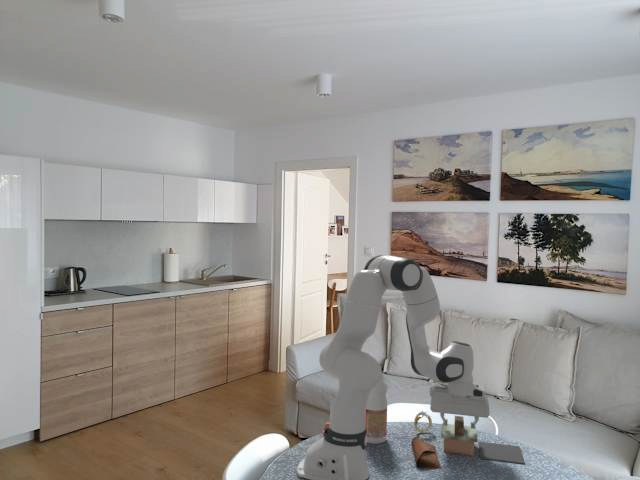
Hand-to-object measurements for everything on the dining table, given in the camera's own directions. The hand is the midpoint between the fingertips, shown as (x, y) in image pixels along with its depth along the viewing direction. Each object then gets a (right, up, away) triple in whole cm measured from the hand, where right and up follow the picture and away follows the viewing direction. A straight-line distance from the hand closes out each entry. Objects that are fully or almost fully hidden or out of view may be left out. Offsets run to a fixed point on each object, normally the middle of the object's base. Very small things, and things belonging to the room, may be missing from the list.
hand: (459, 426), depth 176 cm
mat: (+13, -8, -4) cm, 16 cm away
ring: (-10, -7, +13) cm, 18 cm away
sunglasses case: (-13, -8, -8) cm, 17 cm away
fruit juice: (-30, -7, +6) cm, 31 cm away
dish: (0, -7, 0) cm, 7 cm away
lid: (0, -2, 0) cm, 2 cm away
